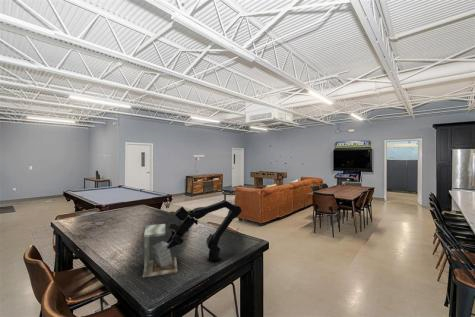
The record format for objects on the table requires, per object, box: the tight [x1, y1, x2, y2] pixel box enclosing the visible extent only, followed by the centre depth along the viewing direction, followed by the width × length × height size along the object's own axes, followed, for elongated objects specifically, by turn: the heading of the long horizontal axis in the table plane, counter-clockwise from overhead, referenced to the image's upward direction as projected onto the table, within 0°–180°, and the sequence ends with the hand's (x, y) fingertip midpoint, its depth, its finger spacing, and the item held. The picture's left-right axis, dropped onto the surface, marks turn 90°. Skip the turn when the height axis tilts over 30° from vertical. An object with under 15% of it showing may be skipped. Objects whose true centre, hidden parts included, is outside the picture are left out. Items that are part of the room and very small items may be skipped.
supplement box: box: [151, 240, 173, 267], centre depth 136 cm, size 7×7×13 cm
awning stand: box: [142, 223, 178, 278], centre depth 136 cm, size 18×18×23 cm
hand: (167, 245), depth 137 cm, fingers open, 9 cm apart
